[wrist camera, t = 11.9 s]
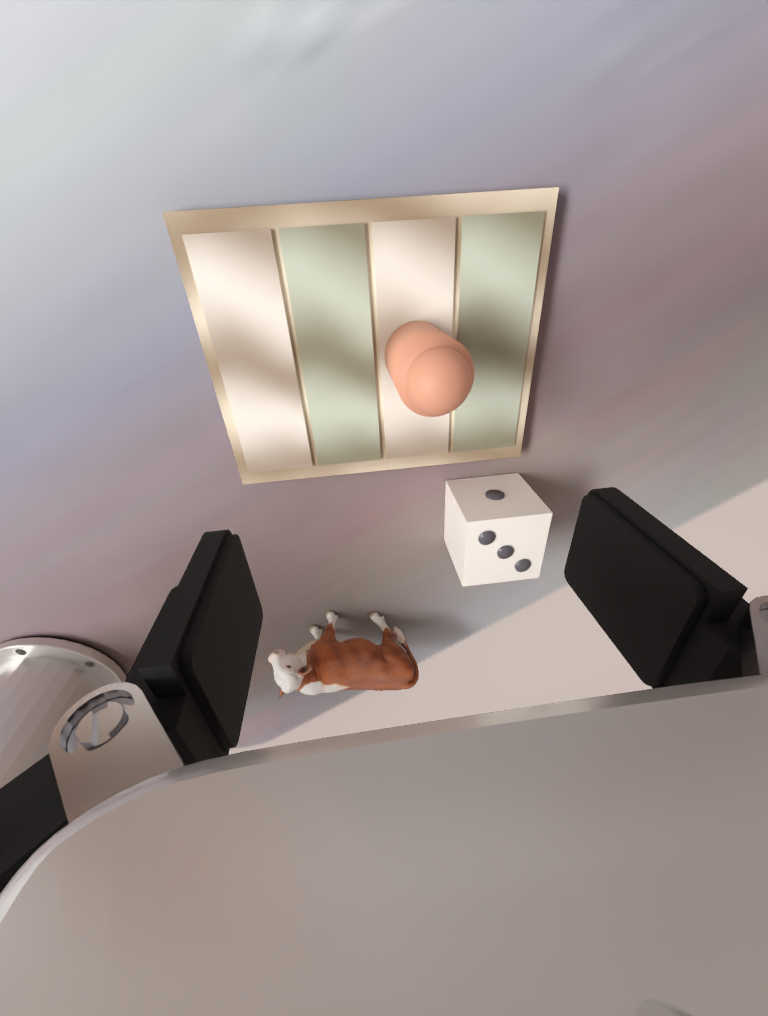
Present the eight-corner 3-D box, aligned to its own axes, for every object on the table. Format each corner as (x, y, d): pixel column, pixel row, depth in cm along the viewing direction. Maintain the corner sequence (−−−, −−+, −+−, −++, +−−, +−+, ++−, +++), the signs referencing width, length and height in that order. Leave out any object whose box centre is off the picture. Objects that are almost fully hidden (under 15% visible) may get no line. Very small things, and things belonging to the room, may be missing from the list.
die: (510, 531, 35) (540, 578, 30) (444, 539, 34) (462, 587, 29) (519, 471, 31) (555, 512, 26) (445, 479, 31) (467, 521, 26)
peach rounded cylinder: (445, 384, 26) (484, 428, 19) (386, 389, 25) (404, 435, 19) (447, 318, 24) (492, 340, 17) (382, 323, 23) (401, 347, 16)
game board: (515, 451, 30) (521, 457, 29) (245, 478, 29) (242, 485, 28) (550, 190, 22) (560, 186, 21) (169, 214, 20) (160, 211, 20)
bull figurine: (279, 596, 36) (265, 674, 29) (413, 614, 39) (429, 687, 32) (272, 628, 38) (258, 707, 31) (400, 642, 41) (413, 717, 34)
